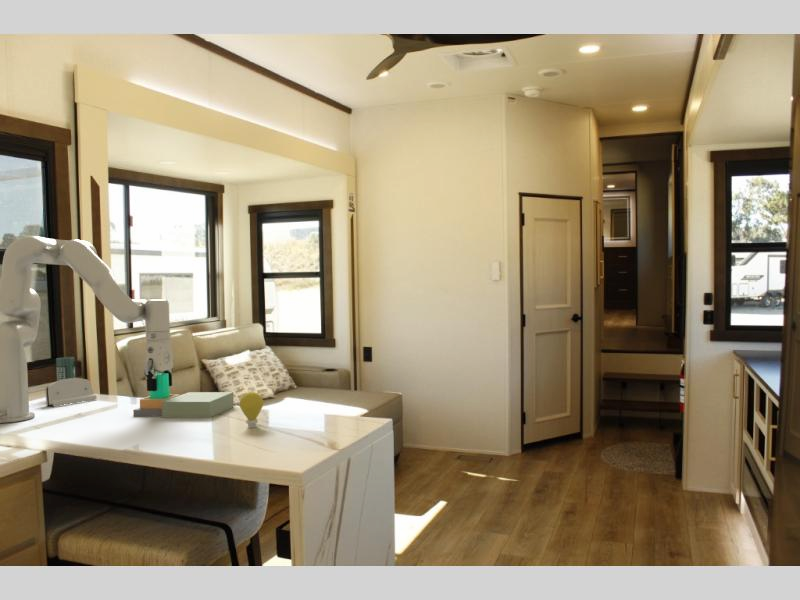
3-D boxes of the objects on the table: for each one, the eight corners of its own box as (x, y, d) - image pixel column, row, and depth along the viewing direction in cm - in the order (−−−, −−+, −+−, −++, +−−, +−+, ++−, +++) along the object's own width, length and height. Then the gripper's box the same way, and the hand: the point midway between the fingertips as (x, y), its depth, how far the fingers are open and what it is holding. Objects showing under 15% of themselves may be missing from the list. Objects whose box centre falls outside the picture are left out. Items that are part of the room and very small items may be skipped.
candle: (147, 405, 217) (145, 369, 217) (165, 403, 221) (163, 367, 221) (155, 407, 213) (153, 370, 213) (173, 404, 217) (171, 368, 217)
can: (79, 395, 256) (77, 357, 256) (67, 398, 250) (65, 359, 250) (66, 395, 258) (64, 357, 257) (54, 397, 252) (52, 358, 252)
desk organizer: (210, 417, 205) (209, 401, 204) (130, 417, 209) (129, 401, 209) (233, 406, 222) (233, 392, 222) (159, 406, 227) (158, 392, 226)
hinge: (53, 407, 231) (47, 380, 233) (46, 410, 234) (40, 383, 235) (98, 399, 245) (92, 374, 246) (91, 403, 247) (85, 377, 249)
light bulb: (267, 427, 189) (265, 392, 188) (244, 430, 185) (242, 395, 185) (259, 423, 194) (258, 389, 194) (237, 426, 191) (236, 391, 191)
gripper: (154, 338, 207) (156, 392, 208) (181, 334, 224) (183, 384, 225) (132, 339, 208) (134, 392, 209) (160, 334, 225) (162, 384, 226)
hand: (159, 388), depth 217 cm, fingers open, 9 cm apart
